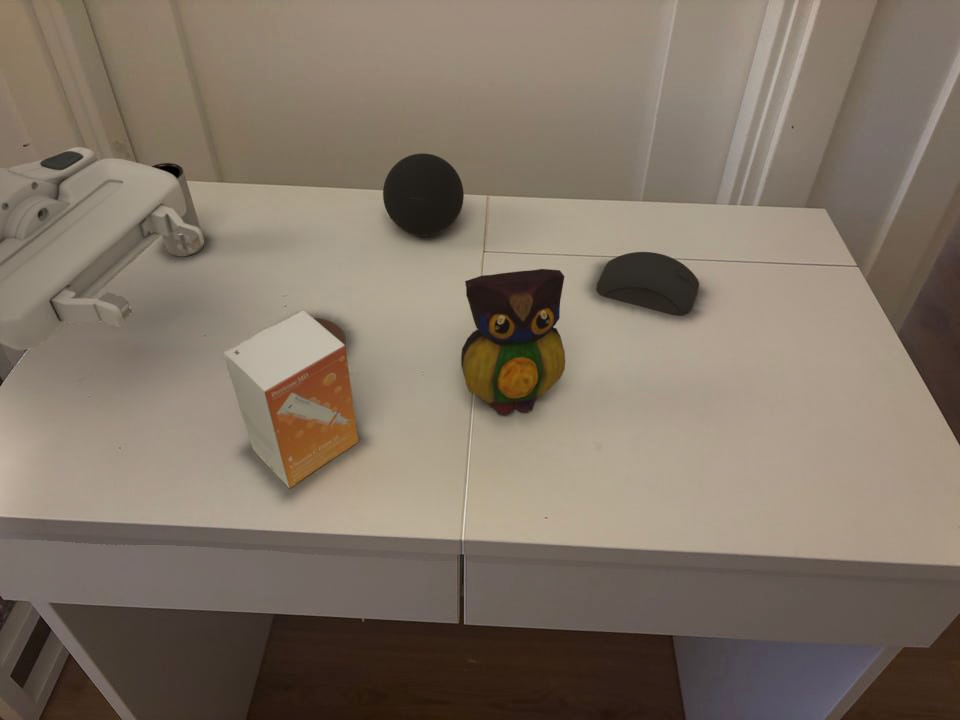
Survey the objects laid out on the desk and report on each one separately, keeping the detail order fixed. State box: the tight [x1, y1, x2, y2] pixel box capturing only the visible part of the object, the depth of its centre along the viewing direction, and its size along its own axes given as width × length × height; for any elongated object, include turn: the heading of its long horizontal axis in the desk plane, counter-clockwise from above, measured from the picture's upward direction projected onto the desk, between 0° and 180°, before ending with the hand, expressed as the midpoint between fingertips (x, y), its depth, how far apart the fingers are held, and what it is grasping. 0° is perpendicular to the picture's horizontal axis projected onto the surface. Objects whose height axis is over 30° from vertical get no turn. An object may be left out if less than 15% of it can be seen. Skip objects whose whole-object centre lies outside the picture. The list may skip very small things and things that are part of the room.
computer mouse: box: [596, 251, 700, 316], centre depth 87 cm, size 6×11×4 cm, turn 68°
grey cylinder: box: [150, 162, 205, 257], centre depth 89 cm, size 4×4×10 cm
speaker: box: [382, 152, 465, 237], centre depth 93 cm, size 10×10×10 cm
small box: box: [222, 310, 359, 489], centre depth 66 cm, size 8×6×13 cm
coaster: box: [313, 317, 346, 346], centre depth 81 cm, size 8×8×1 cm
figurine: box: [460, 268, 566, 416], centre depth 70 cm, size 10×7×15 cm
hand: (163, 275), depth 59 cm, fingers open, 8 cm apart
